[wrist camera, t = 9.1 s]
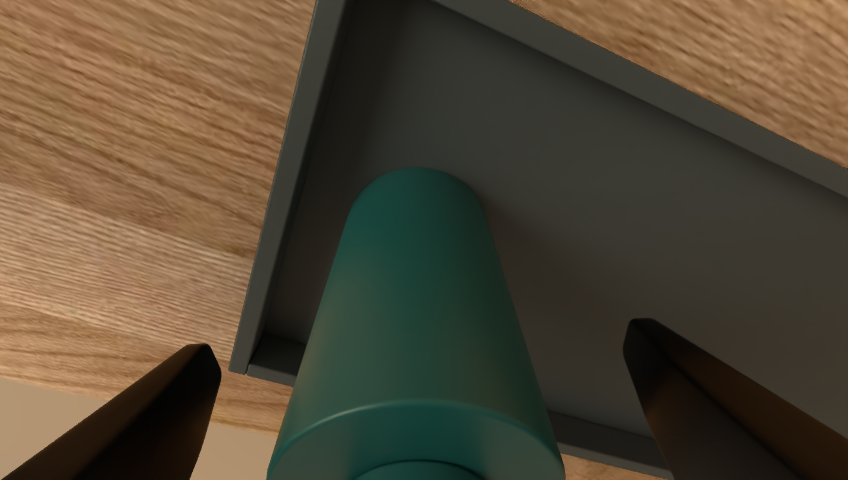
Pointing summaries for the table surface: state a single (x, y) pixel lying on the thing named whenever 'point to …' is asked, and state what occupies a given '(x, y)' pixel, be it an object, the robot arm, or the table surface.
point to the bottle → (416, 351)
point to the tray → (563, 209)
